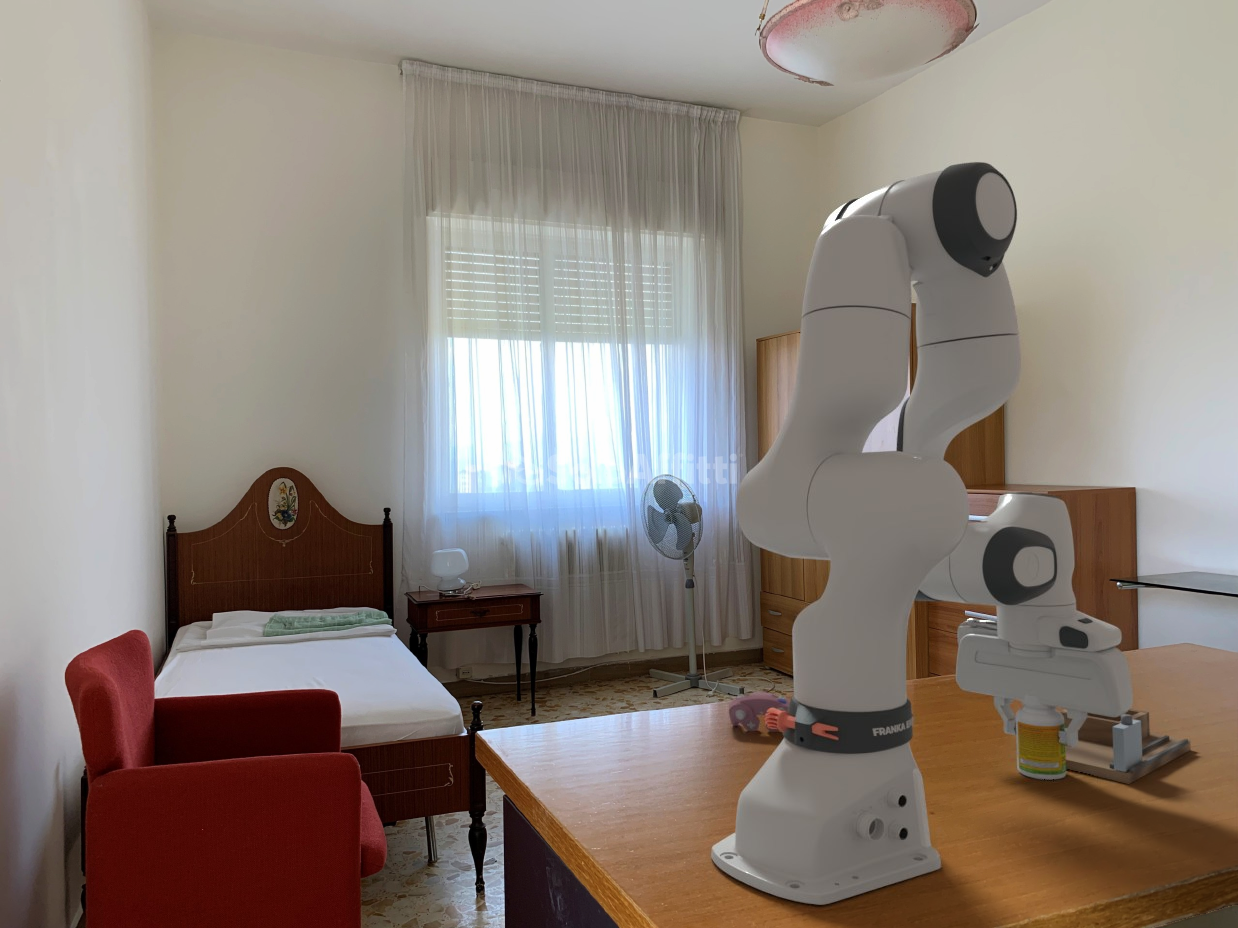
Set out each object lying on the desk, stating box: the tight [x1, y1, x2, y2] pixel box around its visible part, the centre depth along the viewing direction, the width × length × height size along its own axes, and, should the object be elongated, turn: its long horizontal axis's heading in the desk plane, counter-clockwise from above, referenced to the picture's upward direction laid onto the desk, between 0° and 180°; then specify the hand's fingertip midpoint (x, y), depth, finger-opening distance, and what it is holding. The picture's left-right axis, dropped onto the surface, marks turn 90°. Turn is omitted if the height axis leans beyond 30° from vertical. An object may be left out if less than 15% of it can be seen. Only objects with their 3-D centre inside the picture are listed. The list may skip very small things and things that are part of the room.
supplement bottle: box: [1015, 695, 1067, 781], centre depth 107 cm, size 5×5×10 cm
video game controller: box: [728, 691, 790, 733], centre depth 129 cm, size 10×5×7 cm, turn 77°
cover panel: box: [1112, 714, 1142, 772], centre depth 105 cm, size 5×1×6 cm, turn 129°
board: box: [1059, 708, 1192, 785], centre depth 114 cm, size 19×13×4 cm
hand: (1040, 739), depth 107 cm, fingers closed on supplement bottle, 5 cm apart
